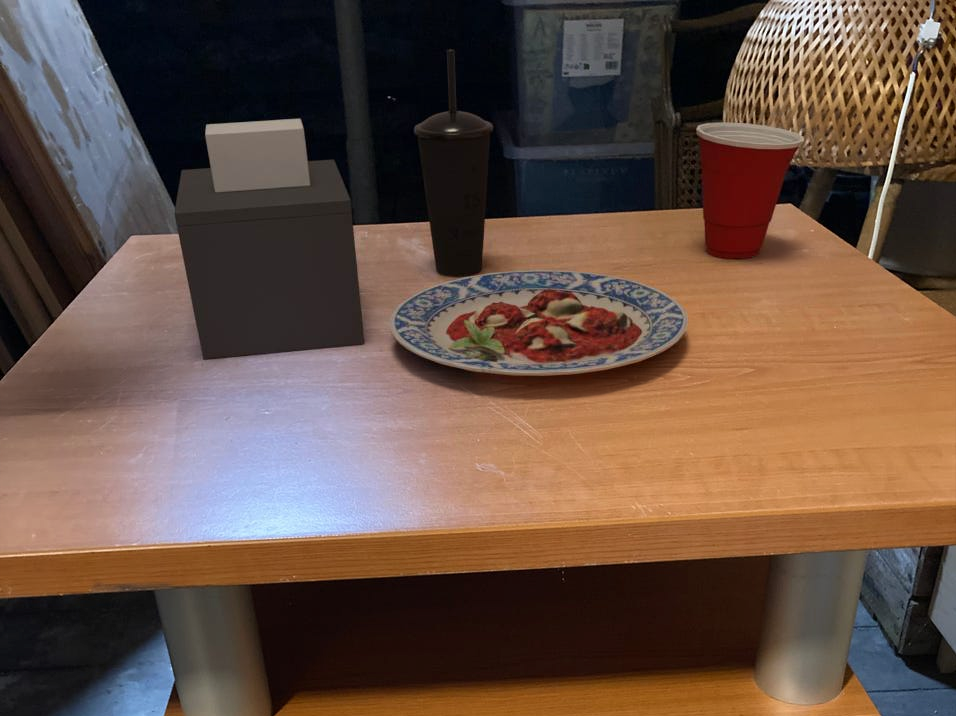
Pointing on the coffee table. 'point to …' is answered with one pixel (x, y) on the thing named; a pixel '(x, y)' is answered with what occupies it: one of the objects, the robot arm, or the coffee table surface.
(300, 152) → the light gray rectangular block
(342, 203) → the dark lidded cube box
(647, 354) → the ceramic plate
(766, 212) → the plastic cup
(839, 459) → the coffee table surface
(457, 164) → the drinking cup
